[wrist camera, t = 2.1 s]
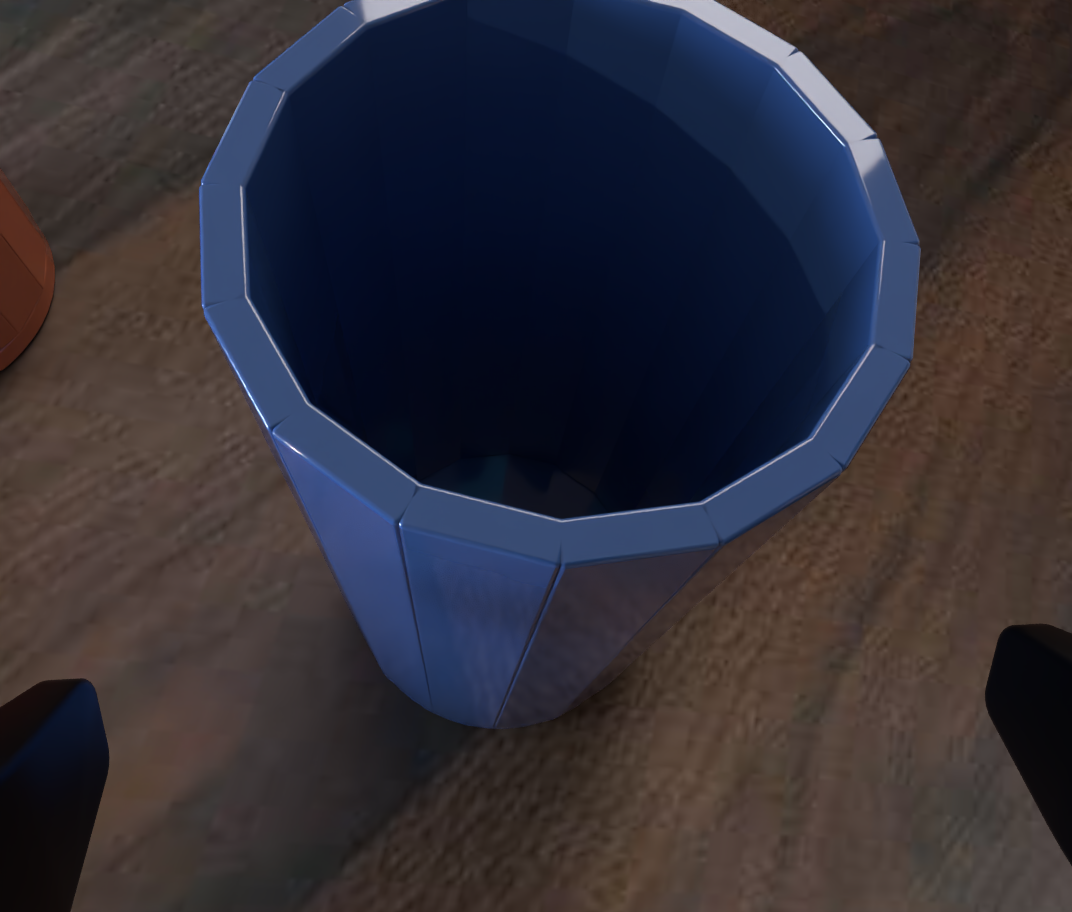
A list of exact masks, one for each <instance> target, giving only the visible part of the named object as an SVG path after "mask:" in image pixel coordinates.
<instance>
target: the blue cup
mask: <svg viewBox="0 0 1072 912" xmlns="http://www.w3.org/2000/svg"><path fill="white" fill-rule="evenodd" d="M199 217H200V263H201V306H202V308H203V310H204V316H205V318H206V320H207V322H208V324H209V326H210V328H211V330H212V332H213V334H214V336H215V338H216V340H217V342H218V344H219V347H220V349H221V351H222V353H223V355H224V357H225V359H226V361H227V363H228V365H229V367H230V369H231V371H232V373H233V375H234V377H235V379H236V381H237V383H238V385H239V387H240V389H241V391H242V393H243V395H244V397H245V399H246V401H247V403H248V405H249V407H250V409H251V411H252V413H253V415H254V417H255V419H256V421H257V423H258V425H259V428H260V430H261V432H262V434H263V436H264V438H265V440H266V442H267V444H268V446H269V448H270V450H271V452H272V454H273V456H274V458H275V460H276V462H277V464H278V466H279V468H280V470H281V472H282V474H283V476H284V478H285V480H286V482H287V484H288V486H289V488H290V490H291V492H292V494H293V496H294V498H295V500H296V502H297V504H298V506H299V508H300V511H301V513H302V515H303V517H304V519H305V521H306V523H307V525H308V527H309V529H310V531H311V533H312V535H313V537H314V539H315V541H316V543H317V545H318V547H319V549H320V551H321V553H322V555H323V557H324V559H325V561H326V563H327V565H328V567H329V569H330V571H331V573H332V575H333V577H334V579H335V581H336V583H337V585H338V587H339V589H340V592H341V594H342V596H343V598H344V600H345V602H346V604H347V606H348V608H349V610H350V612H351V614H352V616H353V618H354V620H355V622H356V624H357V626H358V628H359V630H360V631H361V633H362V635H363V637H364V639H365V641H366V642H367V644H368V646H369V648H370V650H371V652H372V654H373V656H374V657H375V659H376V661H377V663H378V665H379V666H380V668H381V670H382V672H383V674H384V675H386V677H387V678H388V679H389V680H391V681H392V682H393V683H394V684H395V685H396V686H397V687H398V688H399V689H400V690H401V691H402V692H403V693H405V694H406V695H407V696H408V697H409V698H410V699H412V700H413V701H415V702H416V703H418V704H419V705H421V706H422V707H423V708H425V709H426V710H428V711H430V712H432V713H434V714H436V715H439V716H441V717H443V718H445V719H448V720H451V721H454V722H457V723H460V724H463V725H468V726H474V727H479V728H490V729H509V728H520V727H526V726H530V725H534V724H539V723H542V722H545V721H549V720H553V719H554V718H558V717H560V716H561V715H563V714H564V713H566V712H568V711H570V710H572V709H573V708H575V707H577V706H578V705H580V704H581V703H582V702H584V701H585V700H587V699H588V698H589V697H591V696H593V695H594V694H596V693H597V692H599V691H600V690H602V689H604V688H605V687H606V686H607V685H608V684H609V683H610V682H611V681H613V680H614V679H615V678H616V677H617V676H618V675H619V674H620V673H621V672H623V671H624V670H625V669H626V668H627V667H628V666H629V665H630V664H631V663H632V662H634V661H635V660H636V659H637V658H638V657H639V656H640V655H641V654H642V653H644V652H645V651H646V650H647V649H648V648H649V647H650V646H651V645H652V644H654V643H655V642H656V641H657V640H658V639H659V638H660V637H661V636H662V635H664V634H665V633H666V632H667V631H668V630H669V629H670V628H671V627H672V626H674V625H675V624H676V623H677V622H678V621H679V620H680V619H681V618H682V617H684V616H685V615H686V614H687V613H688V612H689V611H690V610H691V609H692V608H693V607H695V606H696V605H697V604H698V603H699V602H700V601H701V600H702V599H703V598H705V597H706V596H707V595H708V594H709V593H710V592H711V591H712V590H713V589H715V588H716V587H717V586H718V585H719V584H720V583H721V582H722V581H723V580H725V579H726V578H727V577H728V576H729V575H730V574H731V573H732V572H733V571H735V570H736V569H737V568H738V567H739V566H740V565H741V564H742V563H743V562H745V561H746V560H747V559H748V558H749V557H750V556H751V555H752V554H753V553H755V552H756V551H757V550H758V549H759V548H760V547H761V546H762V545H763V544H764V543H766V542H767V541H768V540H769V539H770V538H771V537H772V536H773V535H774V534H776V533H777V532H778V531H779V530H780V529H781V528H782V527H783V526H784V525H786V524H787V523H788V522H789V521H790V520H791V519H792V518H793V517H794V516H796V515H797V514H798V513H799V512H800V511H801V510H802V509H803V508H804V507H806V506H807V505H808V504H809V503H810V502H811V501H812V500H813V499H814V498H816V497H817V496H818V495H819V494H820V493H821V492H822V491H823V490H824V489H826V488H827V487H828V486H829V485H830V484H831V483H832V482H833V481H834V480H835V479H837V478H838V477H839V476H840V475H841V473H842V472H844V471H845V470H846V469H847V468H848V466H849V465H850V463H851V461H852V460H853V458H854V457H855V455H856V453H857V452H858V450H859V449H860V447H861V445H862V444H863V442H864V441H865V439H866V437H867V436H868V434H869V433H870V431H871V429H872V428H873V426H874V424H875V423H876V421H877V420H878V418H879V416H880V415H881V413H882V412H883V410H884V408H885V407H886V405H887V404H888V402H889V400H890V399H891V397H892V396H893V394H894V392H895V391H896V389H897V388H898V386H899V384H900V383H901V381H902V380H903V378H904V376H905V375H906V373H907V371H908V370H909V368H910V363H911V361H912V359H913V346H914V333H915V319H916V306H917V292H918V278H919V265H920V251H921V248H920V246H919V238H918V236H917V233H916V230H915V228H914V225H913V223H912V220H911V217H910V215H909V212H908V210H907V207H906V204H905V202H904V199H903V197H902V194H901V191H900V189H899V186H898V184H897V181H896V179H895V176H894V173H893V171H892V168H891V166H890V163H889V160H888V158H887V155H886V153H885V150H884V147H883V145H882V142H881V140H880V139H879V138H877V134H876V132H875V131H874V130H873V129H872V128H871V127H870V126H869V125H868V123H867V122H866V121H865V120H864V119H863V118H862V117H861V116H860V115H859V114H858V112H857V111H856V110H855V109H854V108H853V107H852V106H851V105H850V104H849V103H848V101H847V100H846V99H845V98H844V97H843V96H842V95H841V94H840V93H839V92H838V90H837V89H836V88H835V87H834V86H833V85H832V84H831V83H830V82H829V80H828V79H827V78H826V77H825V76H824V75H823V74H822V73H821V72H820V71H819V69H818V68H817V67H816V66H815V65H814V64H813V63H812V62H811V61H810V60H809V58H808V57H807V56H806V55H805V54H804V53H803V52H801V51H798V49H797V47H795V46H794V45H792V44H790V43H788V42H787V41H785V40H783V39H781V38H780V37H778V36H776V35H775V34H773V33H771V32H769V31H768V30H766V29H764V28H762V27H761V26H759V25H757V24H755V23H754V22H752V21H750V20H748V19H747V18H745V17H743V16H742V15H740V14H738V13H736V12H735V11H733V10H731V9H729V8H728V7H726V6H724V5H722V4H721V3H719V2H717V1H715V0H352V1H349V2H346V3H345V4H344V6H339V7H338V8H336V9H335V10H334V11H333V12H332V13H330V14H329V15H328V16H327V17H325V18H324V19H323V20H322V21H321V22H319V23H318V24H317V25H316V26H315V27H313V28H312V29H311V30H310V31H308V32H307V33H306V34H305V35H304V36H302V37H301V38H300V39H299V40H298V41H296V42H295V43H294V44H293V45H291V46H290V47H289V48H288V49H287V50H285V51H284V52H283V53H282V54H281V55H279V56H278V57H277V58H276V59H274V60H273V61H272V62H271V63H270V64H268V65H267V66H266V67H265V68H264V69H262V70H261V71H260V72H259V73H257V74H256V75H255V76H254V78H253V80H252V81H250V82H249V84H248V86H247V88H246V90H245V92H244V94H243V96H242V98H241V100H240V102H239V104H238V106H237V109H236V111H235V113H234V115H233V117H232V119H231V121H230V123H229V125H228V127H227V129H226V131H225V133H224V135H223V137H222V139H221V141H220V143H219V145H218V147H217V149H216V151H215V153H214V155H213V157H212V159H211V161H210V163H209V165H208V167H207V169H206V171H205V173H204V175H203V177H202V179H201V186H200V188H199Z"/></svg>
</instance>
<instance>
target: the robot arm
mask: <svg viewBox="0 0 1072 912" xmlns="http://www.w3.org/2000/svg"><path fill="white" fill-rule="evenodd" d="M985 701H986V707H987V710H988V713H989V716H990V718H991V720H992V722H993V724H994V725H995V727H996V729H997V731H998V733H999V735H1000V737H1001V739H1002V740H1003V742H1004V744H1005V746H1006V748H1007V750H1008V752H1009V754H1010V755H1011V757H1012V759H1013V761H1014V763H1015V765H1016V767H1017V769H1018V770H1019V772H1020V774H1021V776H1022V778H1023V780H1024V782H1025V784H1026V786H1027V787H1028V789H1029V791H1030V793H1031V795H1032V797H1033V799H1034V801H1035V802H1036V804H1037V806H1038V808H1039V810H1040V812H1041V814H1042V816H1043V817H1044V819H1045V821H1046V823H1047V825H1048V827H1049V828H1050V830H1051V832H1052V834H1053V836H1054V837H1055V839H1056V841H1057V843H1058V844H1059V846H1060V848H1061V849H1062V851H1063V853H1064V854H1065V856H1066V857H1067V859H1068V861H1069V862H1070V864H1071V865H1072V634H1071V633H1069V632H1066V631H1064V630H1061V629H1059V628H1056V627H1054V626H1051V625H1048V624H1027V625H1012V626H1009V627H1007V628H1005V629H1004V630H1003V631H1002V633H1001V634H1000V636H999V638H998V642H997V646H996V650H995V653H994V657H993V661H992V665H991V669H990V673H989V677H988V681H987V685H986V690H985ZM108 768H109V748H108V743H107V738H106V734H105V729H104V725H103V720H102V716H101V712H100V707H99V703H98V698H97V694H96V691H95V688H94V686H93V685H92V683H91V682H89V681H88V680H86V679H83V678H80V679H62V680H46V681H42V682H40V683H38V684H36V685H34V686H33V687H31V688H30V689H28V690H27V691H25V692H23V693H22V694H20V695H19V696H17V697H16V698H14V699H13V700H11V701H9V702H8V703H6V704H5V705H3V706H2V707H0V912H70V911H71V907H72V904H73V900H74V896H75V893H76V889H77V885H78V882H79V878H80V874H81V871H82V867H83V863H84V860H85V856H86V852H87V849H88V845H89V841H90V837H91V834H92V830H93V826H94V823H95V819H96V815H97V812H98V808H99V804H100V801H101V797H102V793H103V790H104V786H105V782H106V779H107V774H108Z"/></svg>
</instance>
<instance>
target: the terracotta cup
mask: <svg viewBox="0 0 1072 912" xmlns="http://www.w3.org/2000/svg"><path fill="white" fill-rule="evenodd" d="M54 284H55V267H54V261H53V256H52V252H51V249H50V247H49V244H48V242H47V239H46V238H45V236H44V235H43V233H42V231H41V230H40V228H39V227H38V225H37V224H36V222H35V221H34V219H33V217H32V215H31V213H30V211H29V209H28V207H27V206H26V204H25V203H24V201H23V200H22V199H21V197H20V196H19V194H18V193H17V191H16V190H15V189H14V187H13V186H12V184H11V183H10V181H9V180H8V178H7V177H6V176H5V174H4V173H3V171H2V170H1V168H0V372H1V371H2V370H3V369H5V368H6V367H7V366H8V365H10V364H11V363H12V362H13V361H14V360H15V359H16V358H17V357H18V356H19V355H20V354H21V353H22V352H23V351H24V350H25V348H26V347H27V346H28V345H29V343H30V342H31V341H32V340H33V338H34V337H35V335H36V334H37V332H38V330H39V329H40V327H41V326H42V324H43V322H44V319H45V317H46V315H47V313H48V311H49V308H50V304H51V301H52V297H53V292H54Z"/></svg>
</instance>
